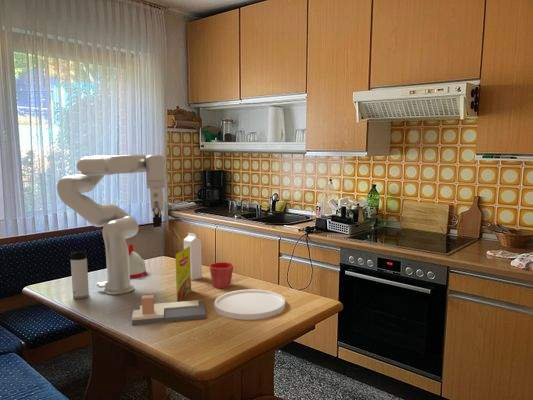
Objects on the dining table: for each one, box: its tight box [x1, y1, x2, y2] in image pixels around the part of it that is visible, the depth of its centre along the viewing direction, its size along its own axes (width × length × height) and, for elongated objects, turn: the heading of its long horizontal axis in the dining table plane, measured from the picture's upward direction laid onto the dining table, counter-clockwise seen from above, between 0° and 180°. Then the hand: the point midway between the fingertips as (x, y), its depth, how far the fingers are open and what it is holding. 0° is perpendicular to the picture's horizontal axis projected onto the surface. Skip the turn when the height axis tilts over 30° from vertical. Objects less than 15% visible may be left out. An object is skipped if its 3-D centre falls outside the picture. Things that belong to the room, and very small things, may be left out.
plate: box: [213, 288, 286, 321], centre depth 168 cm, size 28×28×2 cm
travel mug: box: [69, 250, 90, 300], centre depth 180 cm, size 6×7×20 cm
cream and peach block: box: [131, 294, 164, 321], centre depth 155 cm, size 11×8×7 cm
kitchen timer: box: [128, 244, 147, 279], centre depth 213 cm, size 14×14×15 cm
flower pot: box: [208, 261, 234, 289], centre depth 193 cm, size 11×11×10 cm
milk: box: [183, 232, 203, 281], centre depth 205 cm, size 6×6×22 cm
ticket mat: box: [131, 299, 207, 326], centre depth 160 cm, size 26×15×2 cm, turn 102°
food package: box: [175, 246, 192, 302], centre depth 179 cm, size 15×1×20 cm, turn 168°
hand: (157, 224), depth 180 cm, fingers open, 9 cm apart
